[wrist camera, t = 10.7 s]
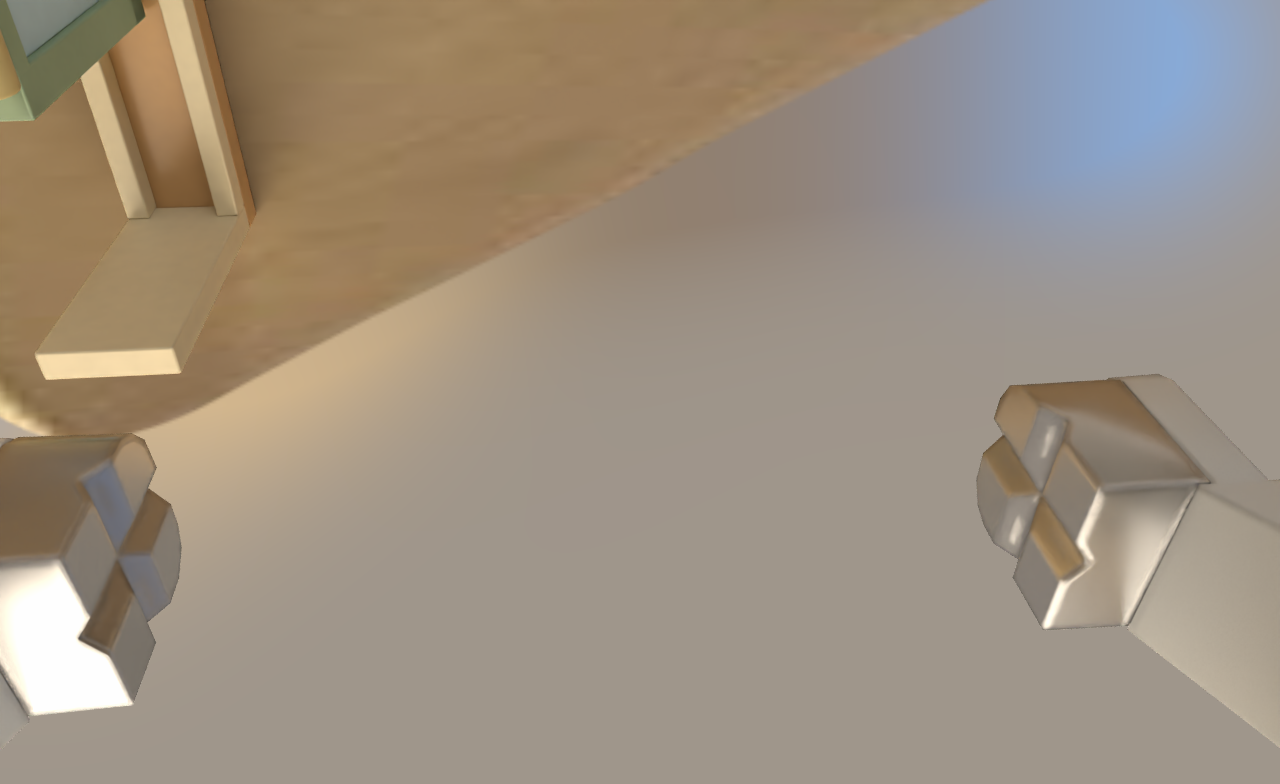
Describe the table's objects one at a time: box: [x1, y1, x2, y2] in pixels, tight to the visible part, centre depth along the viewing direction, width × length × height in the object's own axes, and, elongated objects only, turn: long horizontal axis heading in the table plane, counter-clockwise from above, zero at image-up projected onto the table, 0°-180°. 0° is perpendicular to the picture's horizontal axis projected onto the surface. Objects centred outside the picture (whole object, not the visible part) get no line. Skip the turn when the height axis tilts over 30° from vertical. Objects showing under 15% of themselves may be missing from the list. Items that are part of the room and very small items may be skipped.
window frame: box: [35, 0, 256, 380], centre depth 28 cm, size 4×18×11 cm, turn 179°
